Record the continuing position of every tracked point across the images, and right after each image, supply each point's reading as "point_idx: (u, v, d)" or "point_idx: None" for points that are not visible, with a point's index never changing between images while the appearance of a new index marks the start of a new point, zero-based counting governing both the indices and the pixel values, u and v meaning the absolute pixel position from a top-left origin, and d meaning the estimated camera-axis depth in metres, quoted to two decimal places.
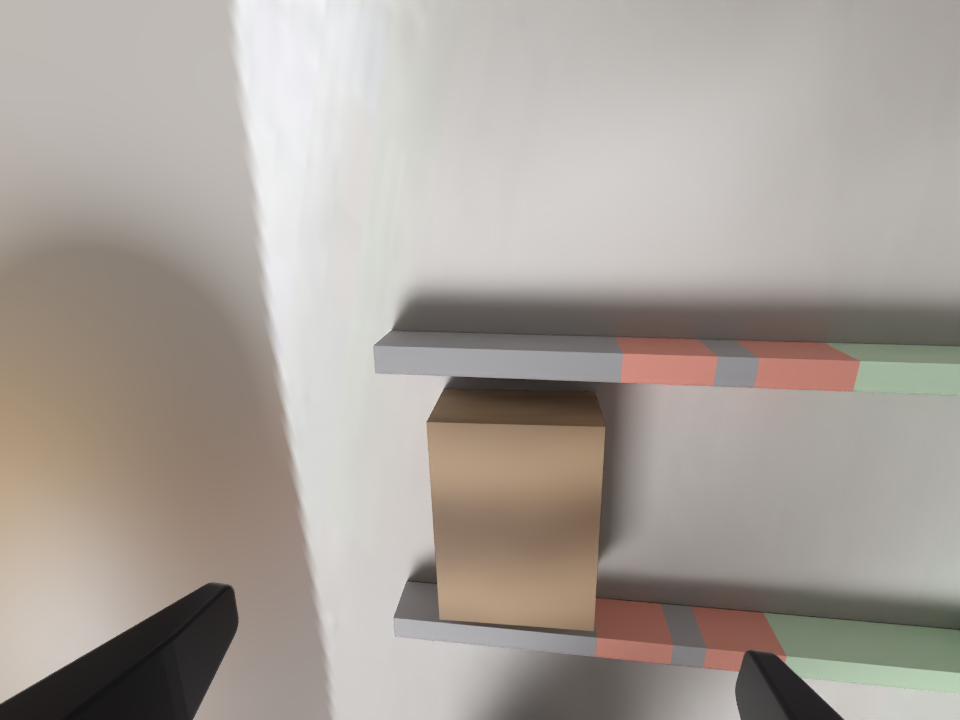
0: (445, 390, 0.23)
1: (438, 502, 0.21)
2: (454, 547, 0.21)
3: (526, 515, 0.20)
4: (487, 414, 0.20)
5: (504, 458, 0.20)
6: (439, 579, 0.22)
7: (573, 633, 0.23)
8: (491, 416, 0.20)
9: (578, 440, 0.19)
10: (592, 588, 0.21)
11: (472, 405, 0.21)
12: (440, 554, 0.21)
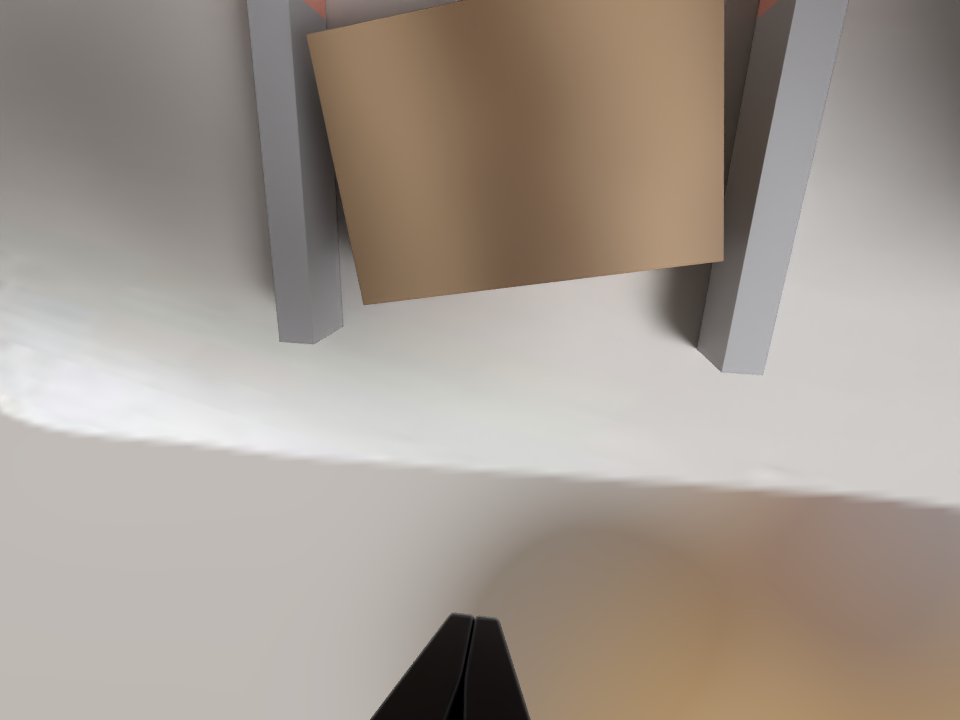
0: None
1: (485, 279, 0.14)
2: (565, 247, 0.13)
3: (483, 135, 0.13)
4: None
5: (392, 186, 0.13)
6: (633, 267, 0.13)
7: (787, 36, 0.12)
8: None
9: (337, 73, 0.13)
10: None
11: None
12: (582, 269, 0.13)
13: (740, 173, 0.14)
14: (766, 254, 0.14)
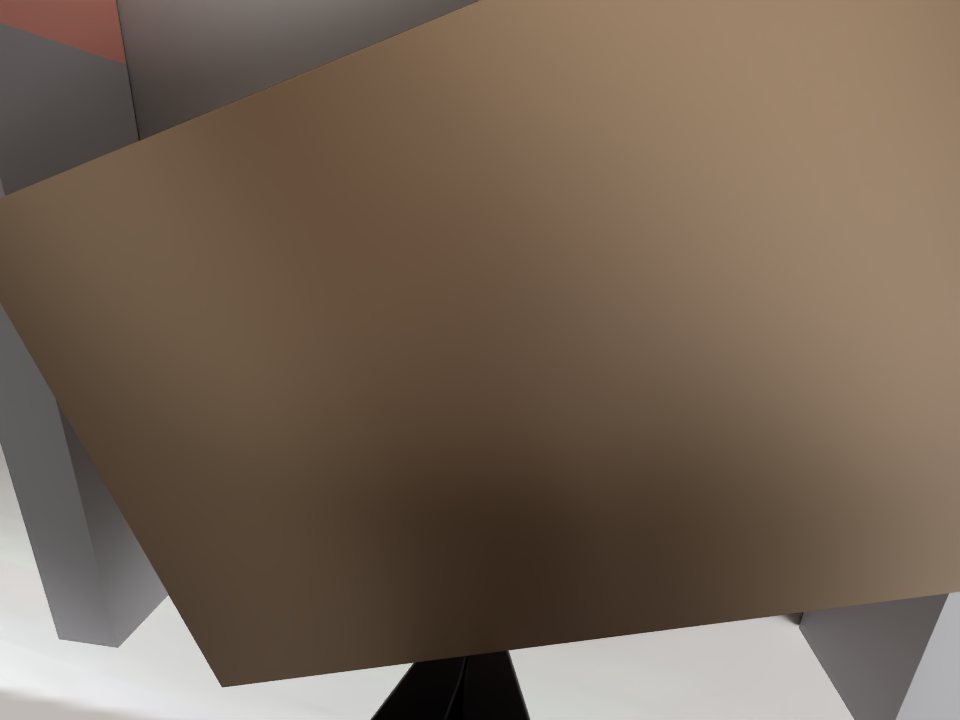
0: None
1: (448, 640, 0.06)
2: (611, 577, 0.06)
3: (383, 378, 0.05)
4: None
5: (217, 490, 0.06)
6: (776, 608, 0.06)
7: None
8: None
9: (40, 289, 0.06)
10: None
11: None
12: (656, 615, 0.06)
13: None
14: None
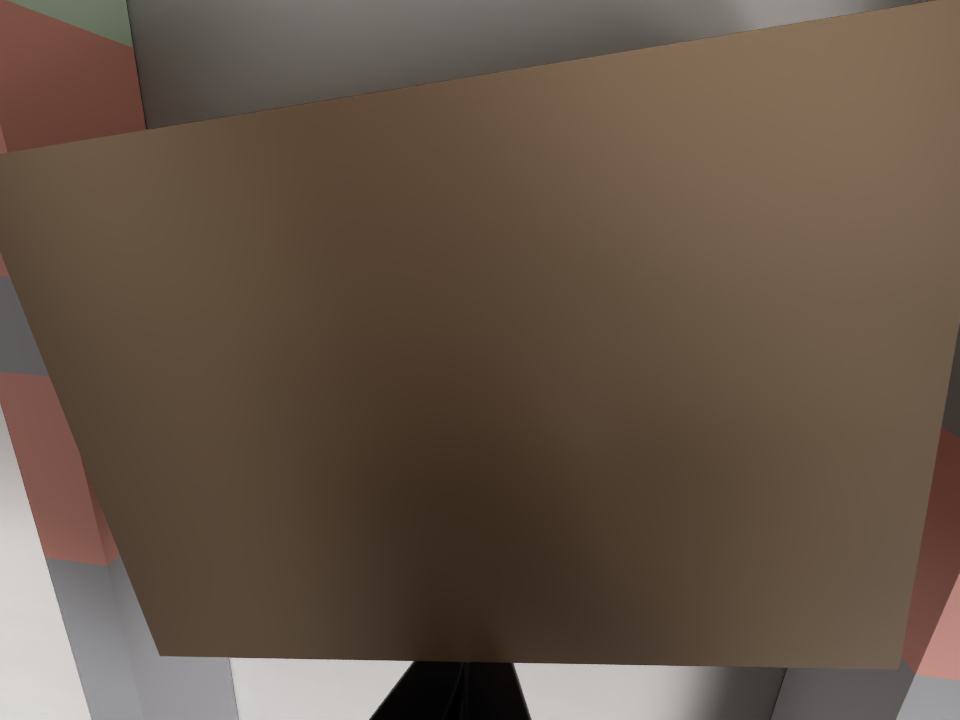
0: None
1: (392, 643, 0.07)
2: (555, 609, 0.06)
3: (375, 393, 0.06)
4: None
5: (190, 469, 0.06)
6: (698, 659, 0.06)
7: None
8: None
9: (45, 247, 0.06)
10: (704, 58, 0.04)
11: None
12: (589, 649, 0.06)
13: None
14: None
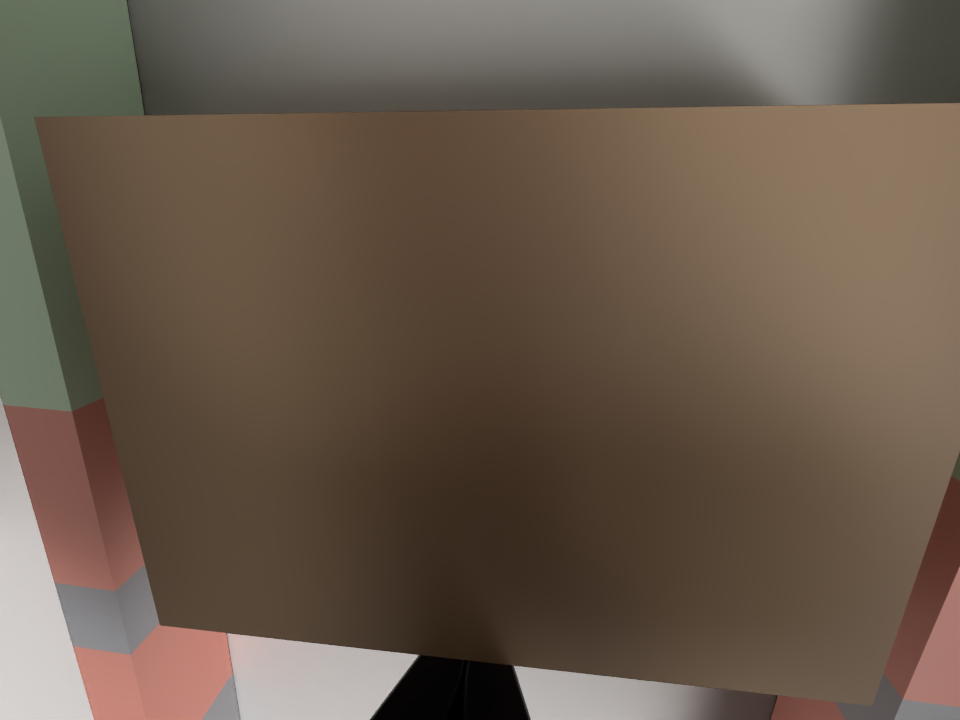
0: None
1: (396, 636, 0.07)
2: (559, 619, 0.06)
3: (417, 396, 0.06)
4: None
5: (221, 448, 0.06)
6: (688, 679, 0.06)
7: None
8: None
9: (105, 214, 0.06)
10: (784, 124, 0.04)
11: None
12: (586, 660, 0.07)
13: None
14: None
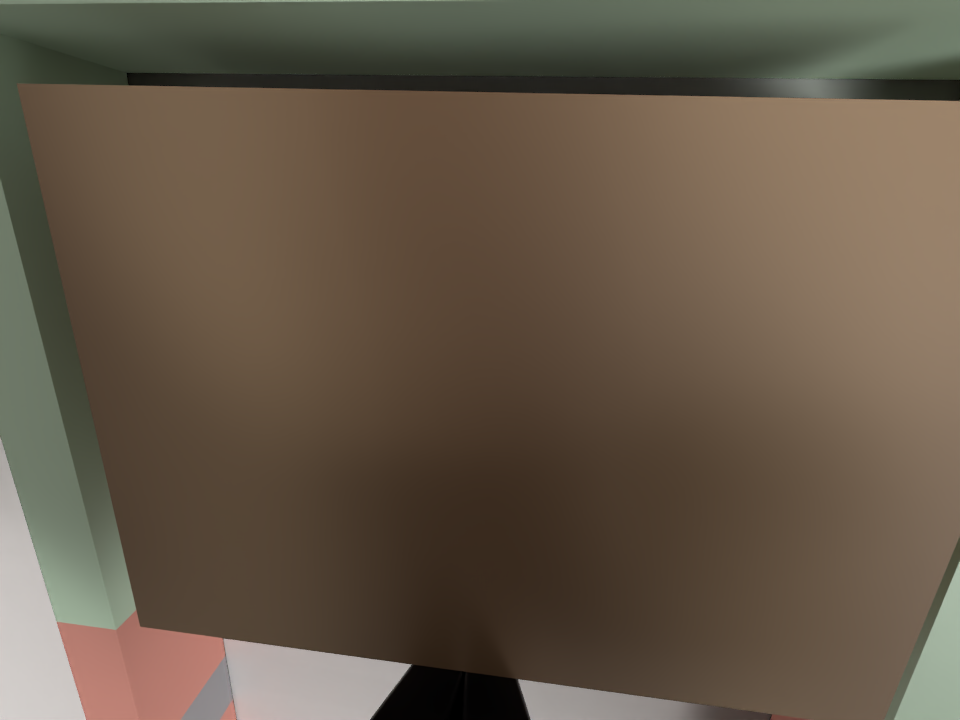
0: None
1: (387, 645, 0.07)
2: (560, 632, 0.06)
3: (419, 395, 0.05)
4: None
5: (209, 444, 0.06)
6: (691, 697, 0.06)
7: None
8: None
9: (92, 190, 0.05)
10: (822, 119, 0.04)
11: None
12: (586, 674, 0.06)
13: None
14: None
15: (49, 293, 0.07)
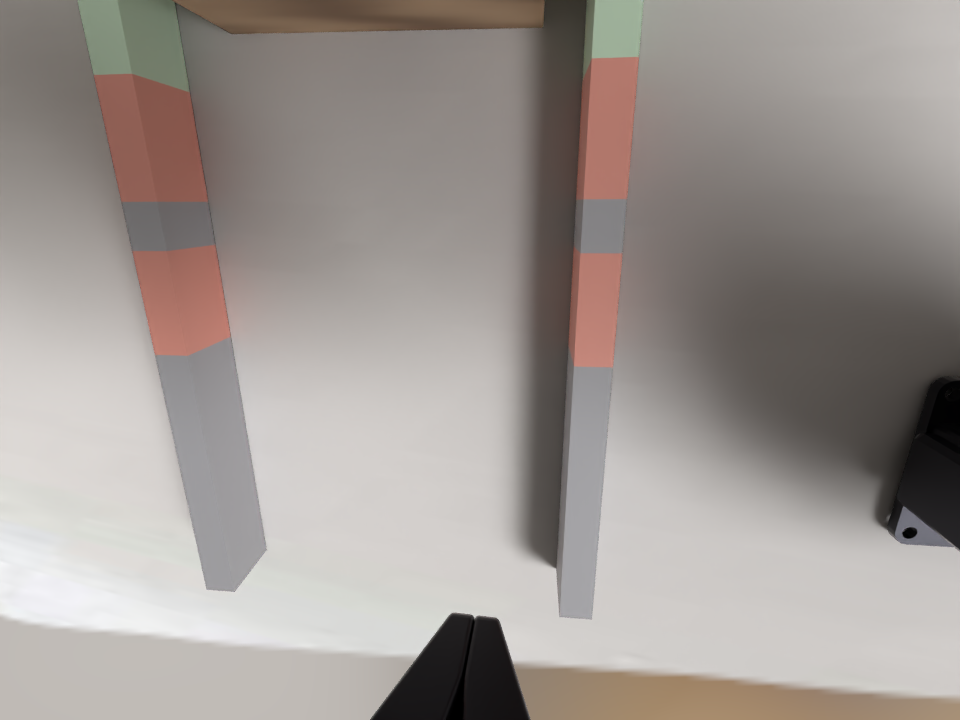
0: None
1: None
2: None
3: None
4: None
5: None
6: None
7: (572, 397, 0.16)
8: None
9: None
10: None
11: None
12: None
13: (564, 461, 0.18)
14: (580, 538, 0.17)
15: None
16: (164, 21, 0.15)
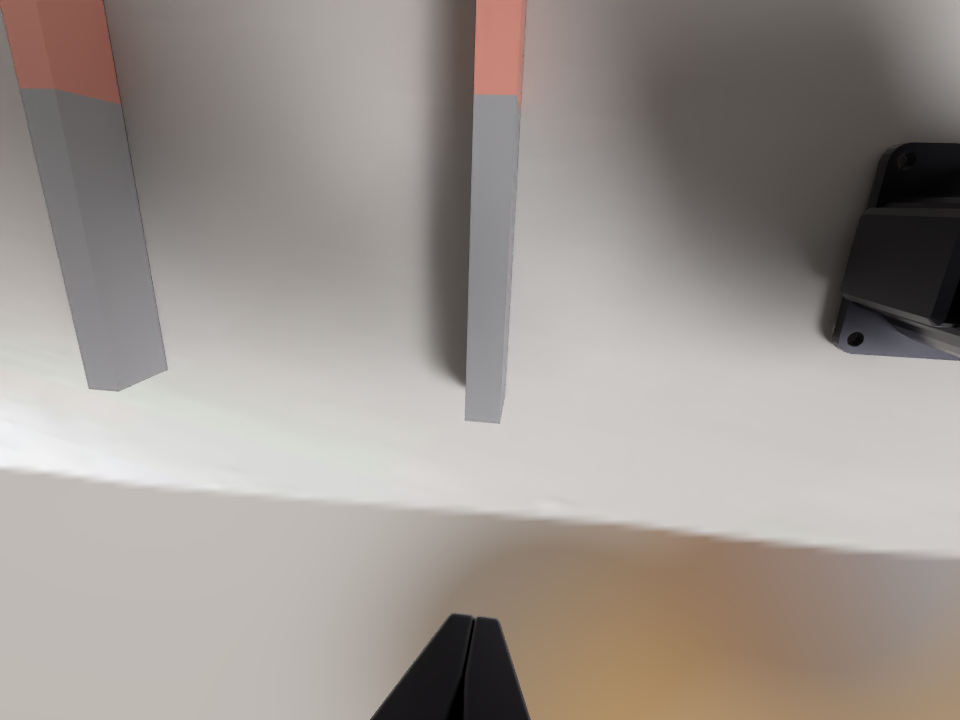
0: None
1: None
2: None
3: None
4: None
5: None
6: None
7: (473, 138, 0.14)
8: None
9: None
10: None
11: None
12: None
13: None
14: (485, 320, 0.16)
15: None
16: None
